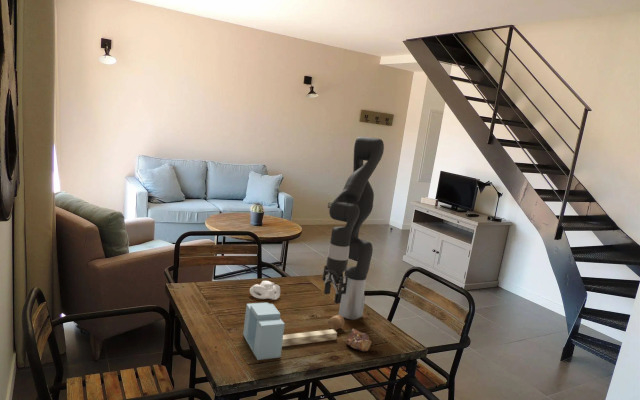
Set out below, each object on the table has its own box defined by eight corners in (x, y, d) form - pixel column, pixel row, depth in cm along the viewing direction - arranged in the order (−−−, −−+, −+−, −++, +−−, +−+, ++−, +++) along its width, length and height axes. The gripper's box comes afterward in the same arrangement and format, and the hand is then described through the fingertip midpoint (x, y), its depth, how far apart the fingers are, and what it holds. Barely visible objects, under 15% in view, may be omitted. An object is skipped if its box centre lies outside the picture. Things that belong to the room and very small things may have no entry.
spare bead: (332, 324, 178) (334, 312, 178) (343, 329, 176) (345, 317, 175) (327, 327, 175) (329, 315, 174) (338, 332, 172) (339, 320, 172)
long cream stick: (332, 336, 169) (333, 329, 169) (335, 340, 167) (337, 332, 166) (278, 343, 159) (279, 335, 158) (281, 347, 156) (282, 339, 156)
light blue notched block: (264, 333, 164) (268, 298, 162) (280, 357, 149) (285, 319, 147) (243, 335, 160) (247, 299, 158) (257, 359, 145) (262, 321, 143)
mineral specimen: (336, 337, 165) (345, 320, 166) (347, 343, 170) (355, 327, 171) (359, 352, 156) (368, 334, 157) (370, 358, 161) (379, 341, 162)
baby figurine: (246, 296, 195) (251, 277, 199) (270, 305, 201) (274, 286, 205) (256, 295, 188) (261, 274, 192) (281, 303, 194) (285, 284, 198)
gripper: (356, 262, 156) (350, 305, 159) (338, 249, 169) (332, 290, 171) (338, 262, 153) (331, 307, 155) (320, 250, 165) (314, 291, 168)
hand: (331, 298), depth 163 cm, fingers open, 8 cm apart
